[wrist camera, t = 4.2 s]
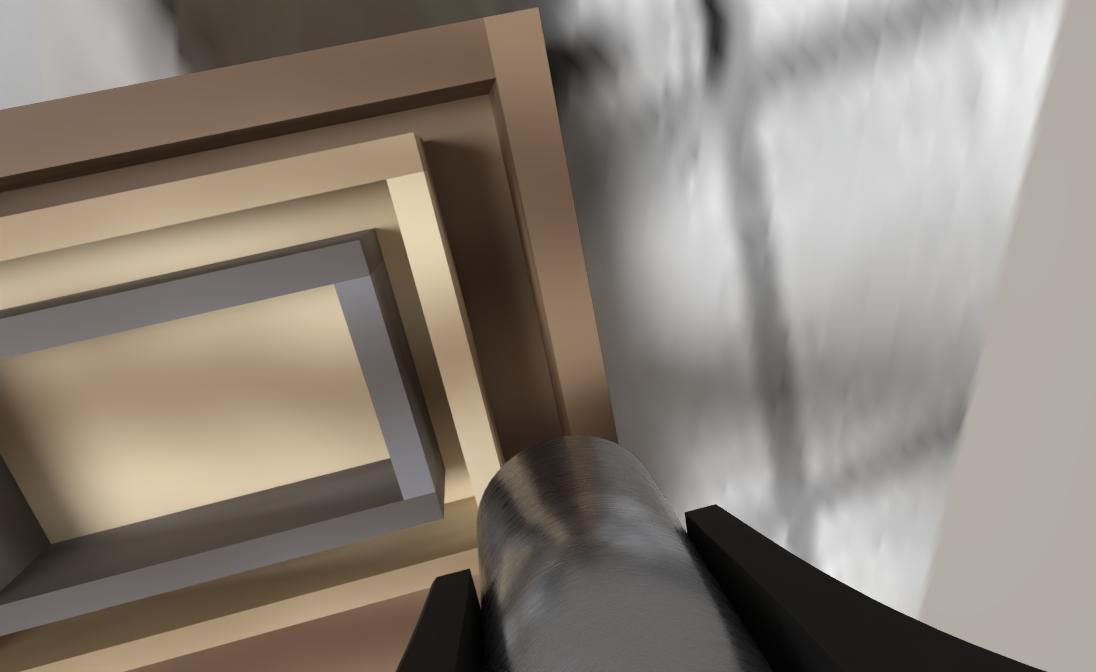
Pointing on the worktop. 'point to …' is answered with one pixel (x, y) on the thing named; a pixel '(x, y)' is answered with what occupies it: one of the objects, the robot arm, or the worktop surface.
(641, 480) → the peg
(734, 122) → the worktop surface
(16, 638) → the crate
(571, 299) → the bay
